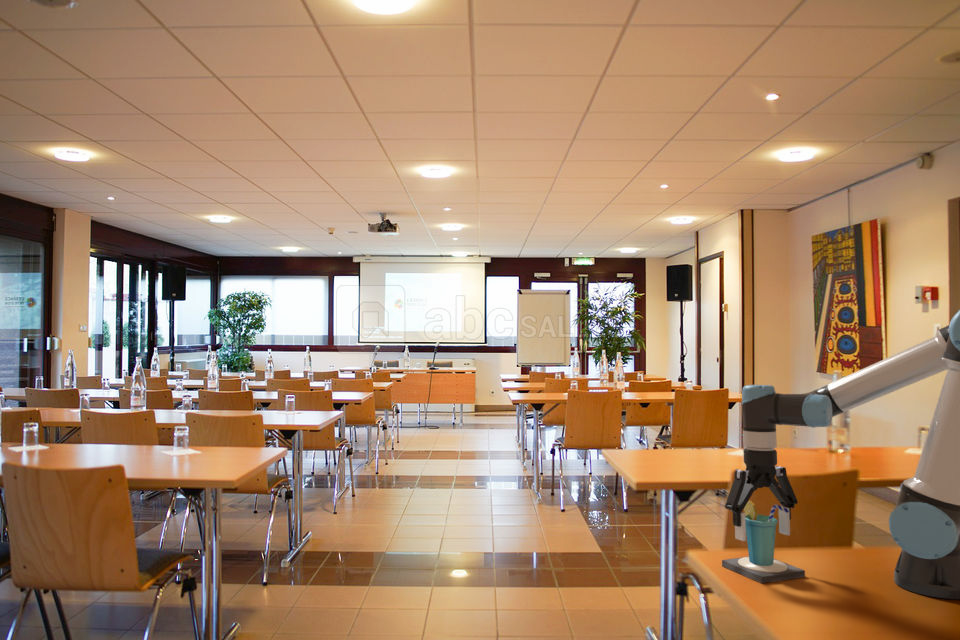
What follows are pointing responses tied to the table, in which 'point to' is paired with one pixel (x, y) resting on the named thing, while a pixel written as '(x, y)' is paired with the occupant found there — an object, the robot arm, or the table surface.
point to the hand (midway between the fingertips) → (762, 537)
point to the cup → (760, 534)
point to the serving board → (763, 570)
